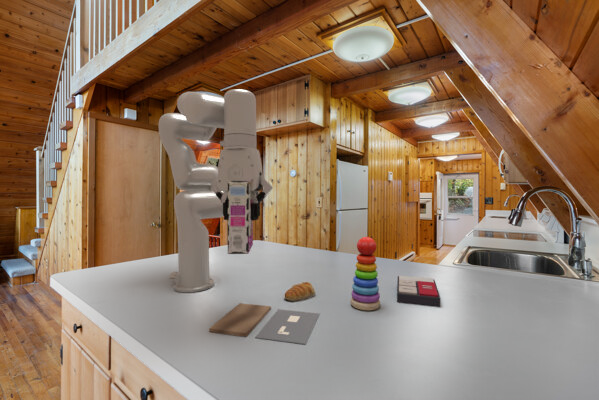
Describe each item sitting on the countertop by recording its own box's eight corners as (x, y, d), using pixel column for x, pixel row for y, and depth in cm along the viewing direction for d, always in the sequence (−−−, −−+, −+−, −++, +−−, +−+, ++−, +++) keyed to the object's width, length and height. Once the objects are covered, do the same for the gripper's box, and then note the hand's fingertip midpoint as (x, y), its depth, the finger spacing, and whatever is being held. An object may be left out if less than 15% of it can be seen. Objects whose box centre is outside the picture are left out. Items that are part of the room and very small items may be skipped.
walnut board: (209, 331, 65) (209, 328, 64) (239, 306, 79) (239, 303, 79) (246, 336, 62) (246, 333, 62) (270, 309, 77) (270, 306, 77)
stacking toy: (347, 309, 77) (347, 238, 76) (353, 298, 84) (353, 234, 83) (378, 313, 74) (378, 239, 73) (381, 302, 81) (381, 235, 81)
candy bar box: (250, 254, 65) (249, 180, 64) (227, 254, 64) (226, 180, 64) (254, 245, 76) (253, 182, 75) (234, 245, 76) (233, 182, 75)
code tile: (255, 338, 62) (255, 337, 62) (278, 310, 76) (278, 309, 76) (305, 344, 59) (305, 343, 59) (319, 314, 73) (319, 313, 73)
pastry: (295, 305, 80) (294, 291, 80) (278, 299, 85) (278, 286, 85) (317, 296, 87) (317, 283, 87) (300, 291, 91) (300, 279, 91)
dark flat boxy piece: (396, 290, 81) (397, 273, 95) (396, 305, 81) (397, 286, 95) (440, 295, 77) (434, 276, 91) (440, 311, 77) (434, 290, 92)
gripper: (199, 143, 68) (200, 220, 68) (269, 140, 64) (269, 222, 64) (216, 148, 75) (217, 217, 76) (280, 145, 71) (280, 218, 71)
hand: (241, 218), depth 70 cm, fingers closed on candy bar box, 6 cm apart
